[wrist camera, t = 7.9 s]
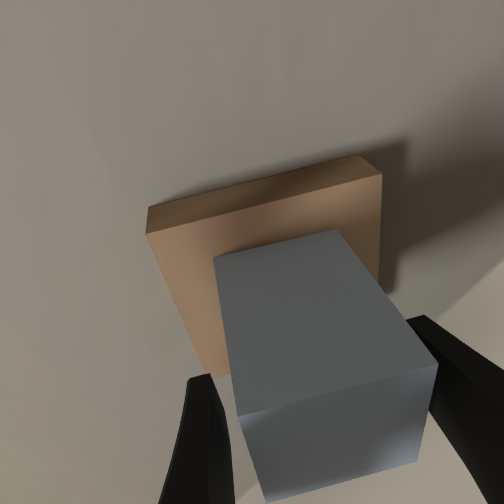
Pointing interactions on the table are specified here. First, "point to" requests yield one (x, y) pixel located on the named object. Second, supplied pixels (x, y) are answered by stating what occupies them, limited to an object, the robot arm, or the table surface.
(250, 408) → the slate block
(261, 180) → the walnut block
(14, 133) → the table surface
